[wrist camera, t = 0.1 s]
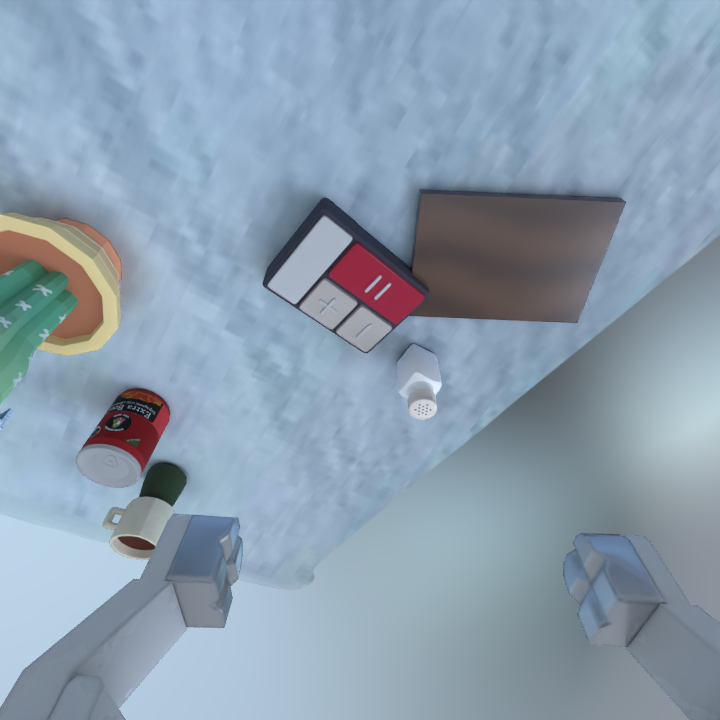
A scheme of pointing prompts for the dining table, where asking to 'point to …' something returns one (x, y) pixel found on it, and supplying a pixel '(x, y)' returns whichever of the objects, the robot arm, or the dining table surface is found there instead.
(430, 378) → the pepper shaker
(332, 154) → the dining table surface
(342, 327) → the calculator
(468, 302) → the board
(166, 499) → the trophy
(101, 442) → the canned food
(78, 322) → the potted cactus
